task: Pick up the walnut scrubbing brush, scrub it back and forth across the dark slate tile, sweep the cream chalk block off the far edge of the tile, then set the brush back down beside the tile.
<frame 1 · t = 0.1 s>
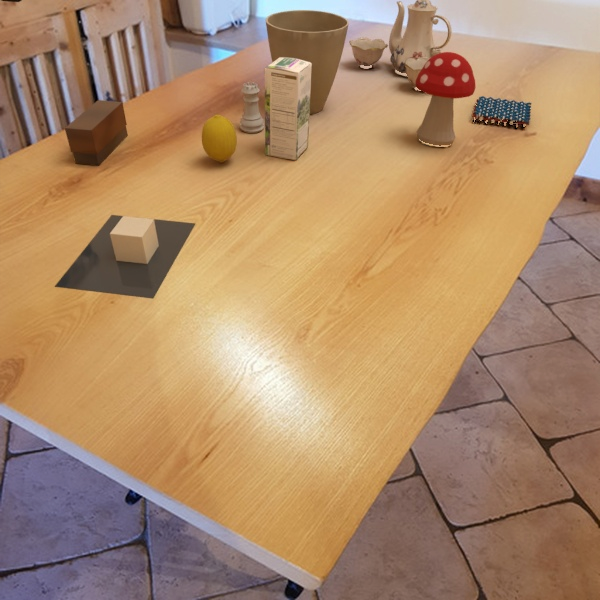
syrup box: (287, 152, 93), on the table
rook chess piece: (252, 130, 100), on the table
lemon: (221, 163, 90), on the table
chinaware: (403, 75, 125), on the table
plant pot: (305, 108, 109), on the table
tile: (131, 258, 69), on the table
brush: (102, 148, 93), on the table
chalk block: (138, 253, 69), point 1 cm above the table, touching tile
woven mat: (499, 118, 107), on the table
decorative mushroom: (434, 142, 98), on the table
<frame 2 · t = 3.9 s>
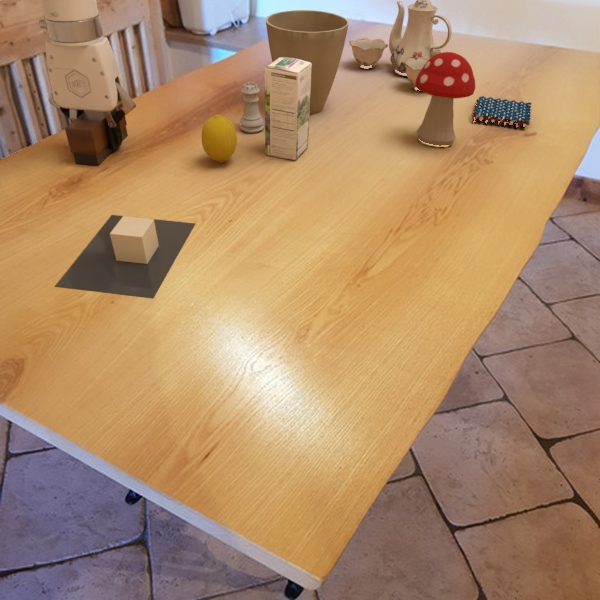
hand: (101, 144, 92), 1 cm above the table, tool pointing down, fingers closed on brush, 4 cm apart
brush: (102, 148, 93), on the table, touching gripper
everything else where it was.
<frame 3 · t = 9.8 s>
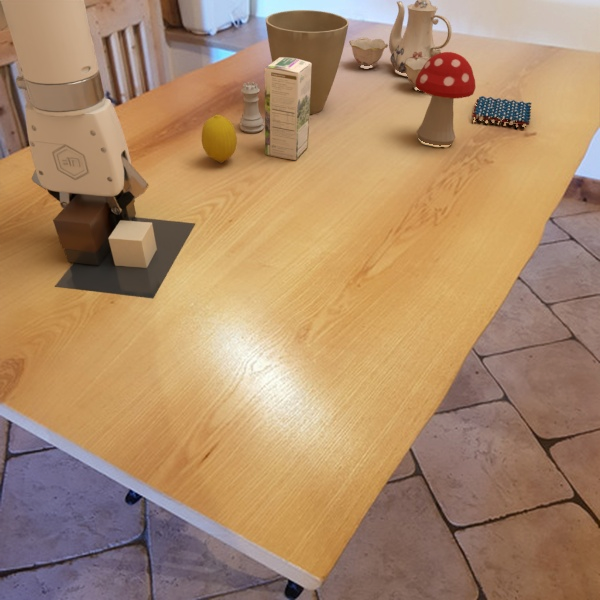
hand: (102, 232, 70), 2 cm above the table, tool pointing down, fingers closed on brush, 4 cm apart
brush: (104, 236, 71), point 1 cm above the table, touching gripper
chalk block: (136, 257, 68), point 1 cm above the table
everything else where it was.
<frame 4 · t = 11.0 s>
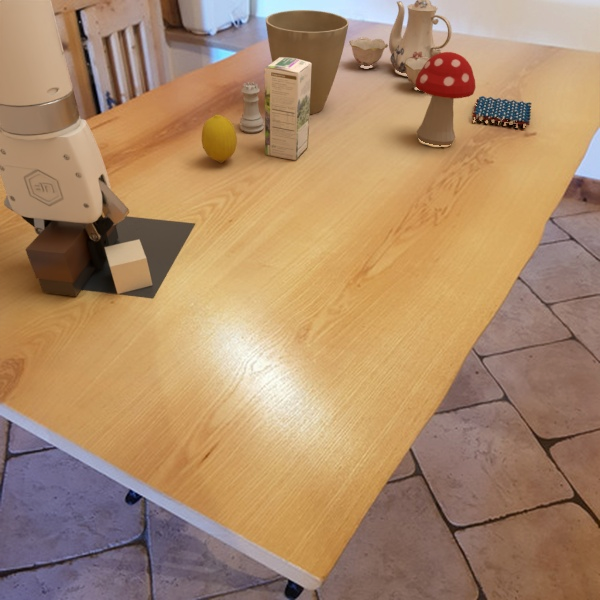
hand: (81, 258, 66), 2 cm above the table, tool pointing down, fingers closed on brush, 4 cm apart
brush: (83, 263, 66), point 1 cm above the table, touching gripper
chalk block: (132, 279, 64), point 1 cm above the table, touching gripper, tile
everything else where it was.
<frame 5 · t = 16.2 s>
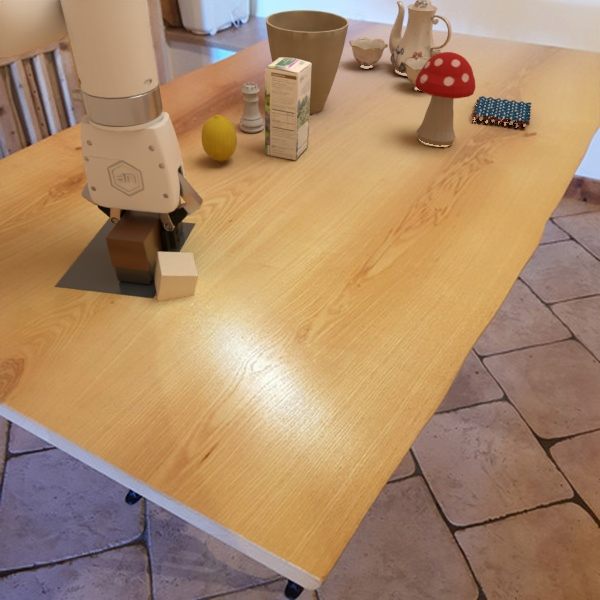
hand: (151, 248, 68), 2 cm above the table, tool pointing down, fingers closed on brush, 4 cm apart
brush: (152, 253, 68), point 1 cm above the table, touching gripper
chalk block: (173, 289, 64), point 1 cm above the table, tilted 15°
everything else where it was.
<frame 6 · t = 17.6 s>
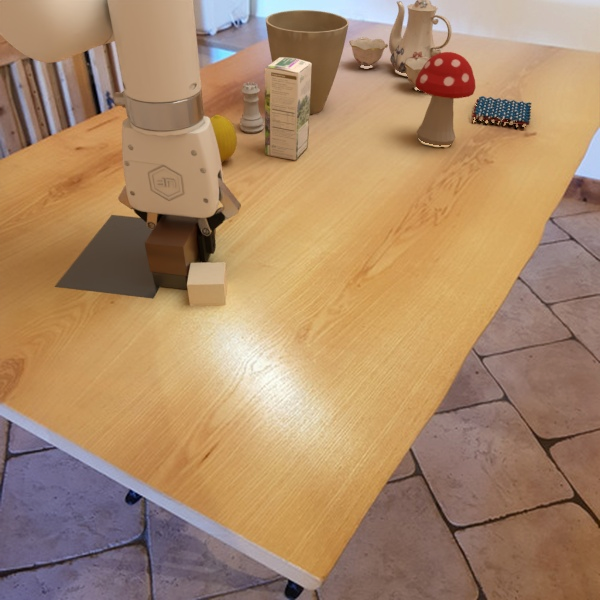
hand: (186, 252, 67), 2 cm above the table, tool pointing down, fingers closed on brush, 4 cm apart
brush: (187, 257, 68), point 1 cm above the table, touching gripper
chalk block: (209, 300, 63), on the table
everything else where it was.
when the fingers open (1 cm above the table, at t = 24.6 s): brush stays where it is, on the table.
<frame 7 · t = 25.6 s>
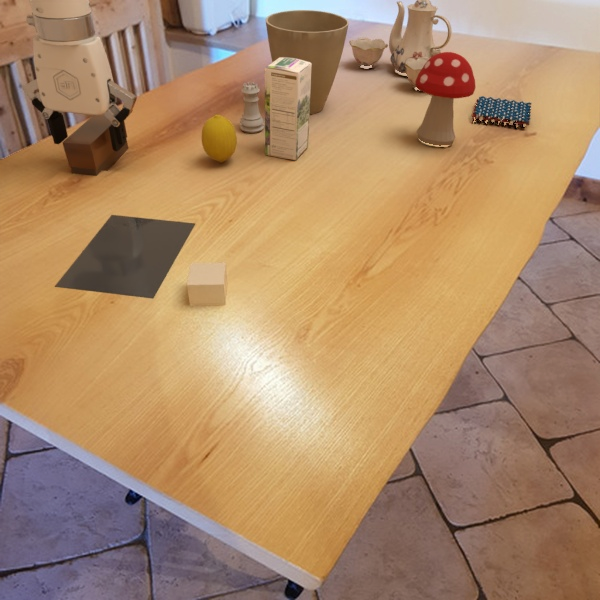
hand: (90, 144, 87), 3 cm above the table, tool pointing down, fingers open, 9 cm apart
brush: (102, 162, 89), on the table
everything else where it was.
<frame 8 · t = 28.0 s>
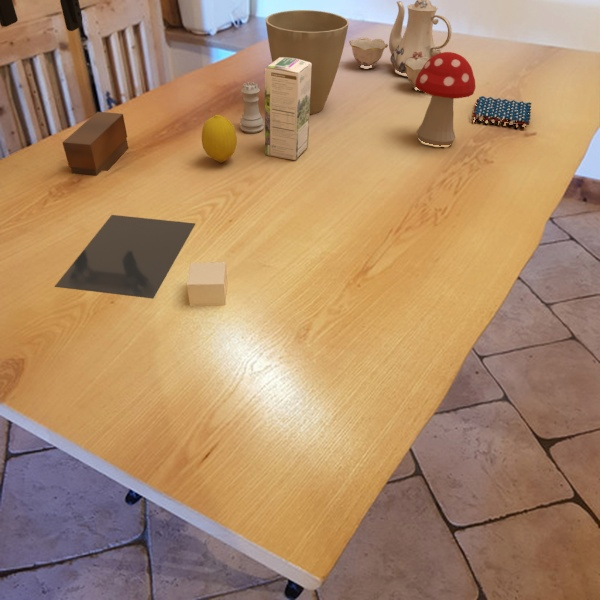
hand: (42, 26, 76), 20 cm above the table, tool pointing down, fingers open, 9 cm apart
nothing on the table moved.
at the end: chalk block inside the target area on the table beside the tile (6.1 cm from its centre), on the table; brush inside the target area (0.2 cm from its centre), on the table; the gripper is holding nothing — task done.
